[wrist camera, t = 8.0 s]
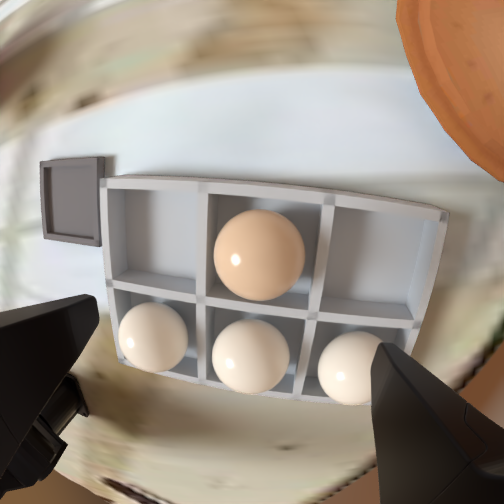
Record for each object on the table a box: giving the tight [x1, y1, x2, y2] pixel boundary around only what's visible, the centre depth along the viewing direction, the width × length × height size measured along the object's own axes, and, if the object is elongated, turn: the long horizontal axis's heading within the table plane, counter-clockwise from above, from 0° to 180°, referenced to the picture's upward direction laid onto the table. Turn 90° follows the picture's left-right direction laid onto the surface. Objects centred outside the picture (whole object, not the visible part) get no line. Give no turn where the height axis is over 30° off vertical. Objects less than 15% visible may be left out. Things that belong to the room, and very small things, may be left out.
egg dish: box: [40, 157, 104, 247], centre depth 20 cm, size 6×6×1 cm
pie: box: [396, 0, 504, 182], centre depth 11 cm, size 16×16×5 cm
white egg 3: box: [318, 331, 383, 405], centre depth 17 cm, size 5×5×5 cm
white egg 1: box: [118, 302, 189, 373], centre depth 19 cm, size 5×5×5 cm
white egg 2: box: [212, 319, 290, 394], centre depth 18 cm, size 5×5×5 cm
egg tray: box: [100, 175, 450, 405], centre depth 19 cm, size 14×20×3 cm
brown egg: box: [214, 209, 305, 301], centre depth 16 cm, size 5×5×5 cm
